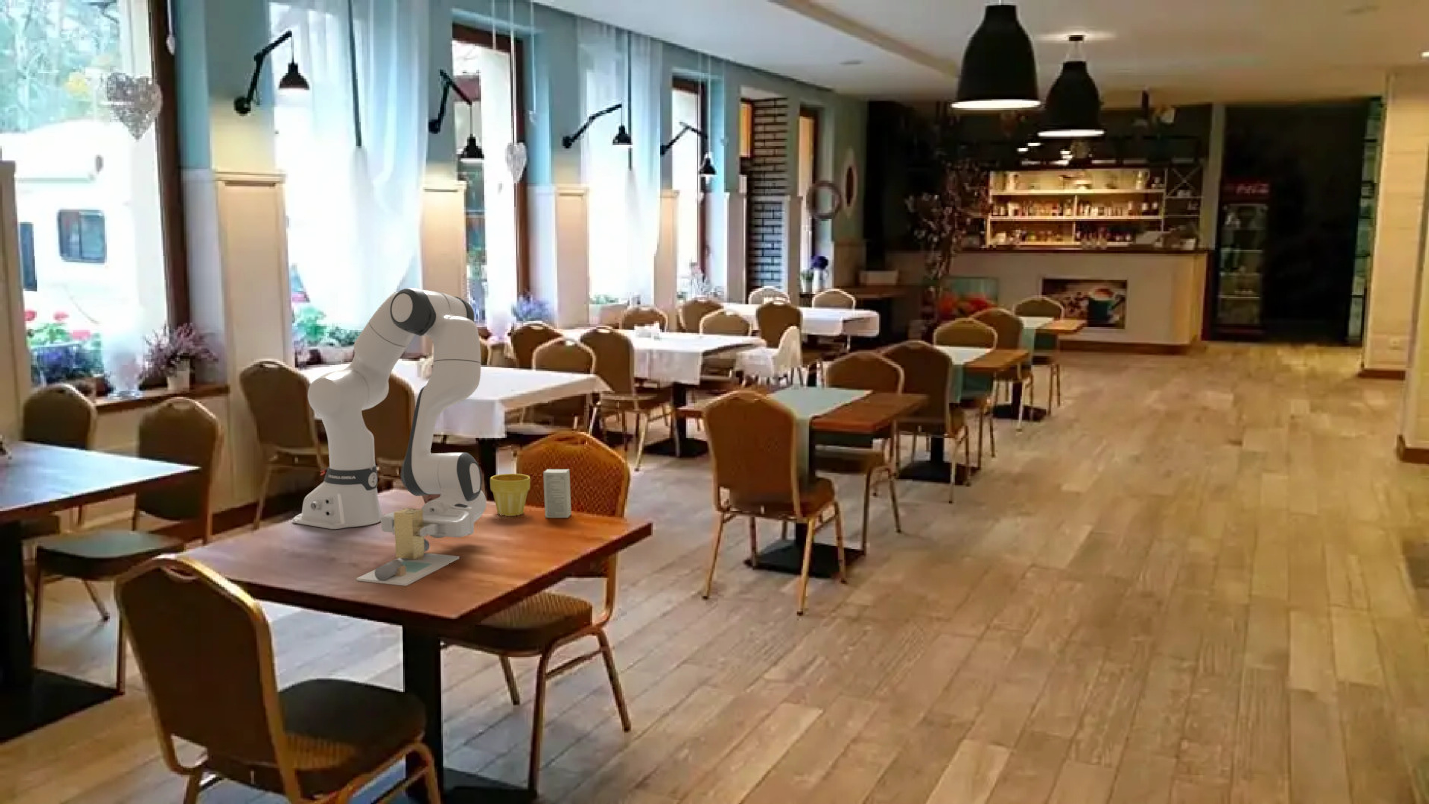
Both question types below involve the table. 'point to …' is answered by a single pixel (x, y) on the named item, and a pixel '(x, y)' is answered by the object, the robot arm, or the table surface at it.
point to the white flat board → (408, 568)
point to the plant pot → (510, 493)
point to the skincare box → (557, 493)
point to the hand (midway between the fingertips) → (407, 532)
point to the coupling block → (408, 533)
